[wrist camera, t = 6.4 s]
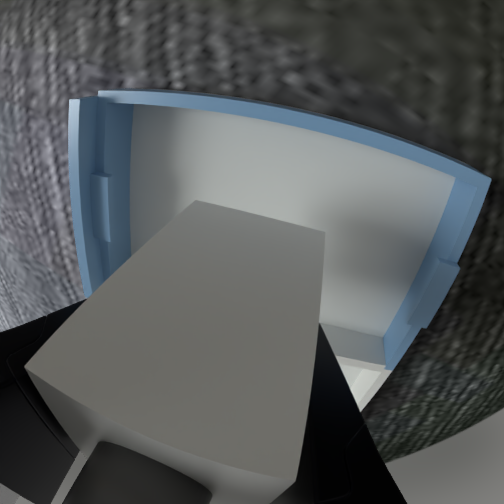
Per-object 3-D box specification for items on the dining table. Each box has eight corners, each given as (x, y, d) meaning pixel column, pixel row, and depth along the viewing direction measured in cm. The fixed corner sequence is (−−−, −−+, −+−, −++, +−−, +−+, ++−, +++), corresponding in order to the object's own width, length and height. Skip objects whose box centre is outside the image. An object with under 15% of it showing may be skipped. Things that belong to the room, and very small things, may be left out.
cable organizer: (328, 423, 20) (324, 463, 17) (134, 365, 22) (113, 397, 19) (466, 163, 10) (505, 188, 7) (121, 88, 12) (69, 93, 9)
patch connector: (293, 330, 11) (228, 576, 4) (188, 300, 11) (61, 506, 4) (325, 231, 9) (267, 595, 1) (195, 199, 9) (-33, 438, 2)
